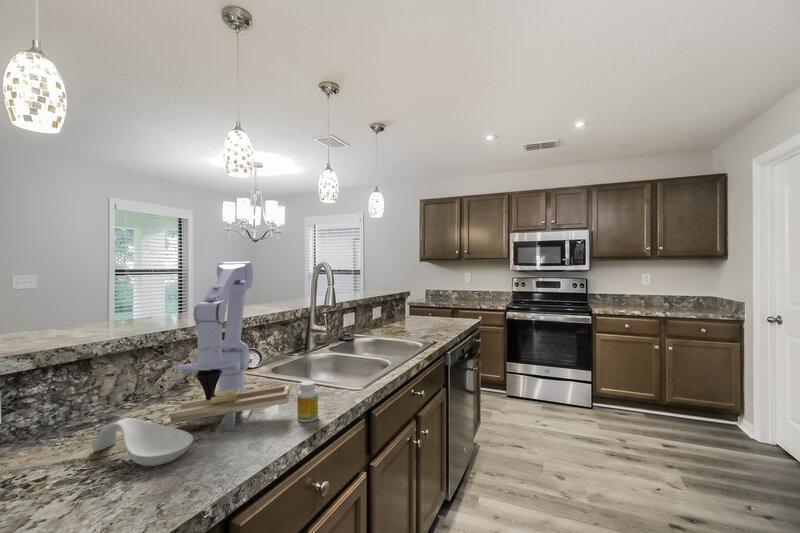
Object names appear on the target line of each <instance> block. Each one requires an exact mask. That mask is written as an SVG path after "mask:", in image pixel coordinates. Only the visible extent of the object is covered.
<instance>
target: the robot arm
mask: <svg viewBox="0 0 800 533" xmlns="http://www.w3.org/2000/svg"><path fill="white" fill-rule="evenodd" d="M253 269H254V268H253V263H251V262H250V261H249V260H247V261H219V262H218V264H217V267H216V277H217V278H218V280H217V281H216V282H217V283H216V284H214V285H212V286H211V287H210V288H209V290H208V291H207V293H206V295H205V297H204V299H203V301H201V302H199V303H197V304H195V306H194V308H193V321H194V325H195V327H194V328H195V332H197V362H195V363H186V364H180V365H179V366H177V367H178V369H177V370H178V371H177V373H178V375H182V374H188V373H197V375H196V379H197V381H198V382H199V383H200V385H201V388H202V389H203V392H204V395H205V399H206V400H211V397H212V396H213V395H214V394H215V393H216V392H215V391H216V388H217V389H218V390H217V392H218V391H224V390H230V389H237V388H240V393H243V392H246V389H245V388H246V382H245V381H246V377H245V376H246V375H245V371H246V370H247V369H248V368H249V365H250V348H249V345H248V344H247V343H246V342H244V341H242V340H241V339H242V331H243V330H242V329H243V318H244V317H243V316H244V309H245V297H246V293H247V291H248V290H249V289H250V288H252V284H253V275H254V271H253ZM226 312H227V313H226ZM225 319H226V322H225V331H224V340H223V323H224V321H225ZM217 385H218V387H217Z"/></svg>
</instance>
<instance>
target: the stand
mask: <svg viewBox="0 0 800 533" xmlns="http://www.w3.org/2000/svg"><path fill="white" fill-rule="evenodd" d="M251 414H252V409H250V410H244V411H239V412H235V411H227V412H226V413H225V414H224V417H223V419H222V420H221V421H220V423H219V425H218V426H217V427H216V429H215V432H216V434H220V433H230V432H233V433H234V432H241V431H243V429H244V428H245V426H246V424H247V421H248V419H249V418H250V416H251Z"/></svg>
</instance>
